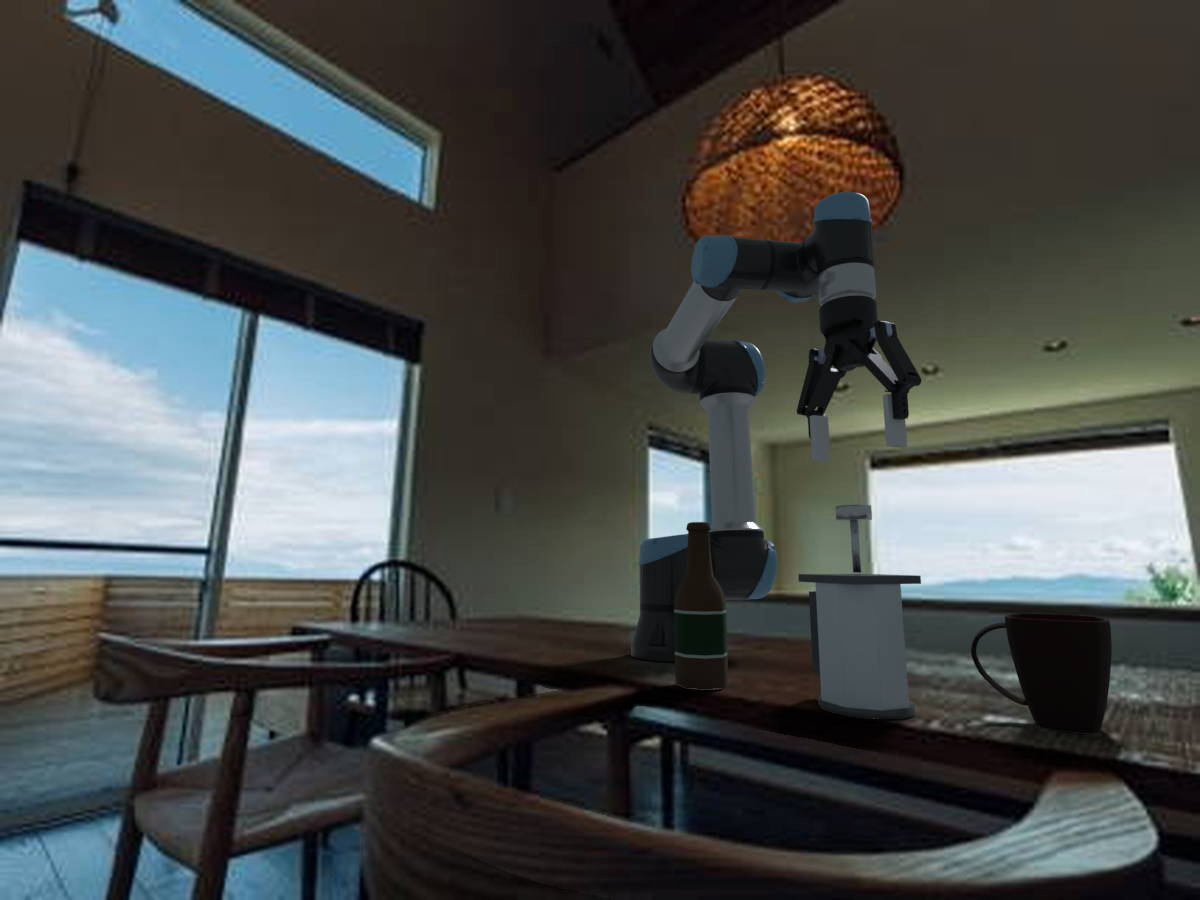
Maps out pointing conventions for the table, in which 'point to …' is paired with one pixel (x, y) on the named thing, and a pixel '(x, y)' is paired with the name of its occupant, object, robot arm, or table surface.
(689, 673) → the beer bottle
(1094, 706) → the cup
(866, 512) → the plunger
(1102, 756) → the table surface
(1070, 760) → the table surface
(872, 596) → the grey capped canister
